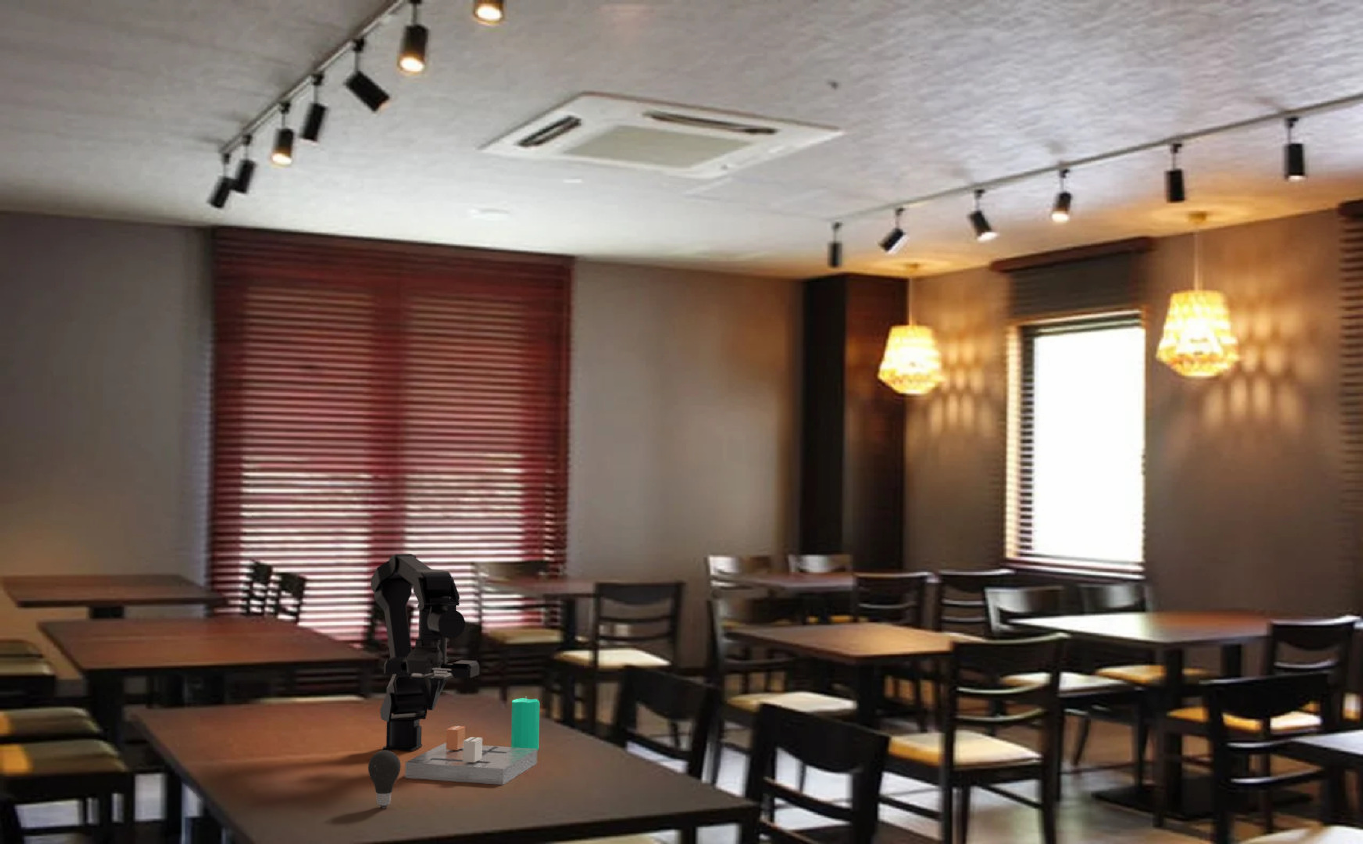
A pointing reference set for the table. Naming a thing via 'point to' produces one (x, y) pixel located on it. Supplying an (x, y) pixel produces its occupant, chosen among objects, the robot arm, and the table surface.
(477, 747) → the fader cream
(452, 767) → the grey slider board
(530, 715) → the candle
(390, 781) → the light bulb
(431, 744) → the table surface
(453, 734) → the fader orange
